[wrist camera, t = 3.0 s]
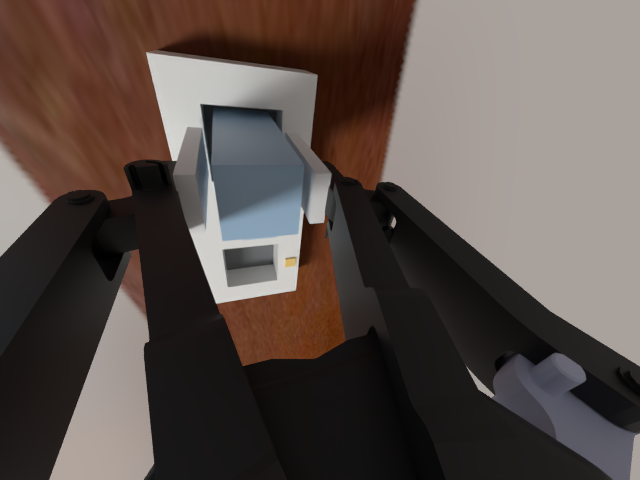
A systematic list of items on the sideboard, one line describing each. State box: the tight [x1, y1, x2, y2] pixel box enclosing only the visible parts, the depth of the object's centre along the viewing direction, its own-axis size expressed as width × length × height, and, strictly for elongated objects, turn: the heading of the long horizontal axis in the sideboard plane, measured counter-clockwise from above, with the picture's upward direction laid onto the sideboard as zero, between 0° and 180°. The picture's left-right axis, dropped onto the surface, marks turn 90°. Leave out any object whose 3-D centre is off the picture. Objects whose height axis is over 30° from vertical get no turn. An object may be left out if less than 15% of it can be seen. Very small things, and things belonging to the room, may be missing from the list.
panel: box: [146, 50, 318, 304], centre depth 21 cm, size 20×9×3 cm, turn 173°
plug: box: [211, 107, 305, 241], centre depth 15 cm, size 4×4×10 cm
